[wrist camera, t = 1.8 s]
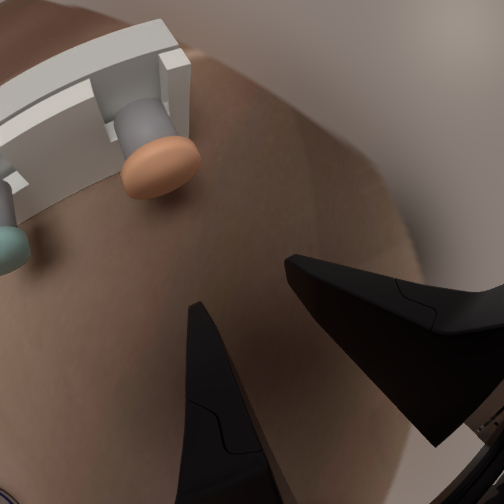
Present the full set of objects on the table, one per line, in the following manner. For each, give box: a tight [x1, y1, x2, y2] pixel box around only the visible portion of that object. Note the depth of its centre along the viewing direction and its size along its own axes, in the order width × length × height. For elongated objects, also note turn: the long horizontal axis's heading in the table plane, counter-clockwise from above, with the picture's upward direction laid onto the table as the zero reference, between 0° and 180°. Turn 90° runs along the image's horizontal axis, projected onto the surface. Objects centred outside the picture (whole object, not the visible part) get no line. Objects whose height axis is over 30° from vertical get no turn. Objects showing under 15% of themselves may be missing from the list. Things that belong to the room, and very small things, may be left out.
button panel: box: [0, 19, 191, 226], centre depth 18 cm, size 7×20×10 cm, turn 118°
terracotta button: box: [114, 98, 202, 199], centre depth 17 cm, size 5×5×5 cm
